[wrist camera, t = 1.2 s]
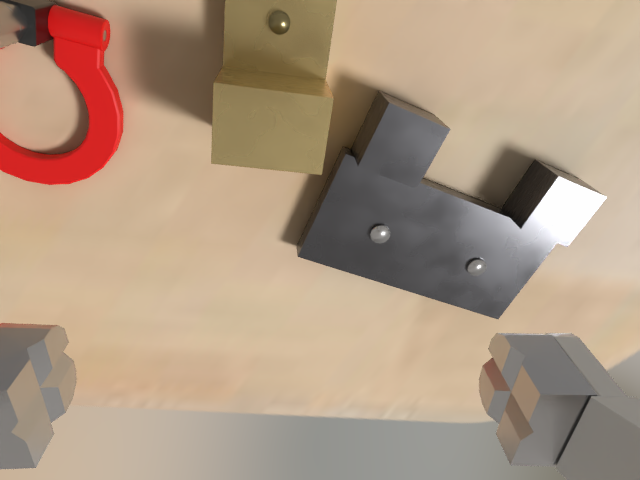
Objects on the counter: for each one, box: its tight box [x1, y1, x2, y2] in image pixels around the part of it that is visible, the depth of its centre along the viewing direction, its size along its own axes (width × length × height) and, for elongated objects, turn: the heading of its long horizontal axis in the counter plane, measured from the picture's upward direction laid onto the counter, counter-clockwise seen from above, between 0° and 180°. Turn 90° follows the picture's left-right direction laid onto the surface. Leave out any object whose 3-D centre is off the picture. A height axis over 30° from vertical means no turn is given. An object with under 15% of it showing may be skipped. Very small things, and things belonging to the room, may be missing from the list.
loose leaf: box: [211, 0, 337, 175], centre depth 21 cm, size 5×8×5 cm, turn 172°
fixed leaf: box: [297, 91, 607, 319], centre depth 27 cm, size 15×10×3 cm
